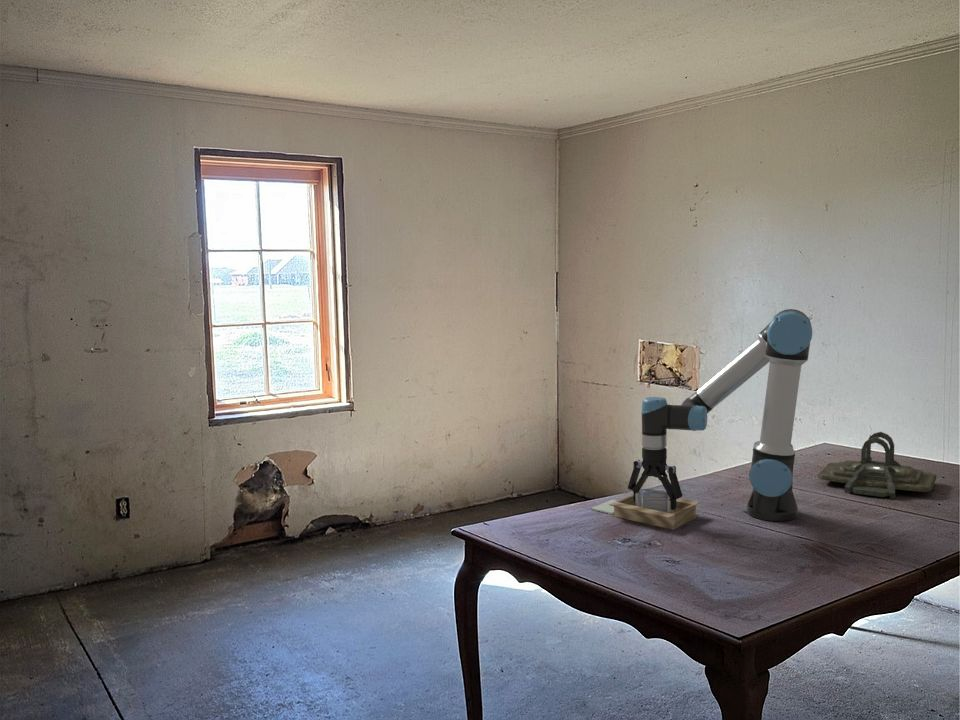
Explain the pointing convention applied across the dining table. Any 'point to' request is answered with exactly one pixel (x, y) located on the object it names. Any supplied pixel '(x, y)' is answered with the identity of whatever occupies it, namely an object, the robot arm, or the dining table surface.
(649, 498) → the medicine box
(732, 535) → the dining table surface
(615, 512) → the wooden tray
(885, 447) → the olive flat handled piece
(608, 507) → the mat
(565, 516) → the dining table surface
